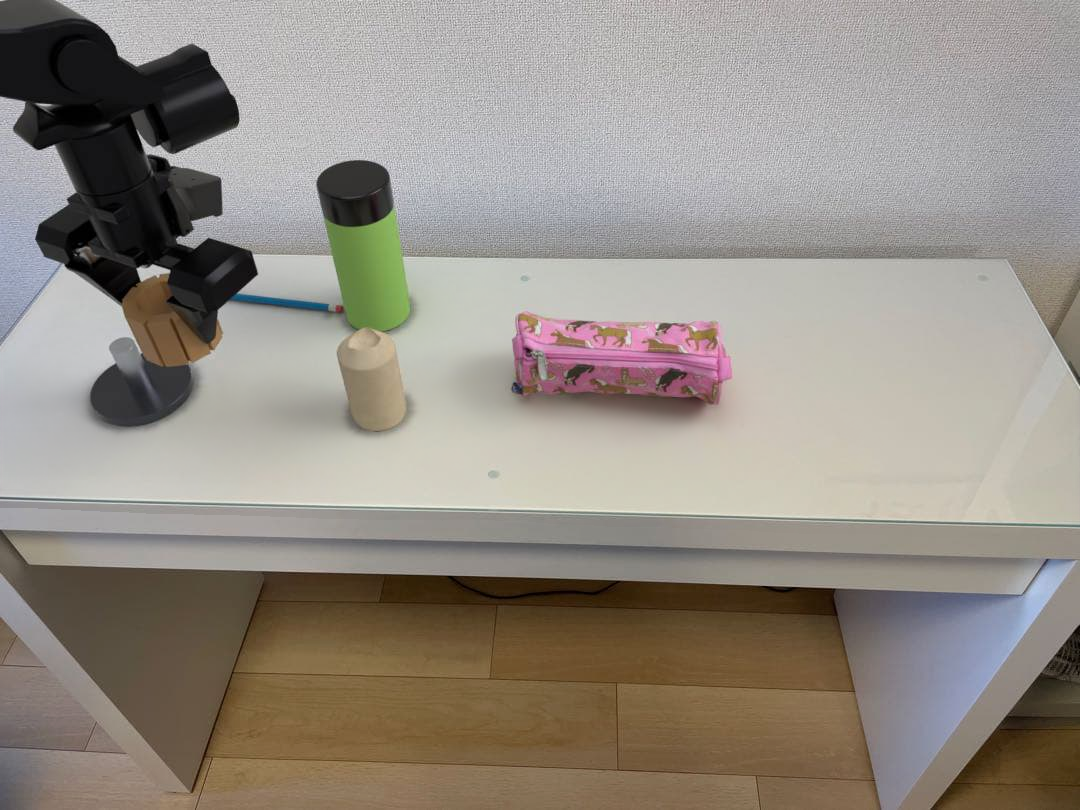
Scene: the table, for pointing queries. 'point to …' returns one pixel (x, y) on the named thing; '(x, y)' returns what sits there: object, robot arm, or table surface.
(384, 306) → the tumbler
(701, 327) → the pencil case
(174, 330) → the wooden segmented ring
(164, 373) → the stand
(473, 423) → the table surface
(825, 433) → the table surface
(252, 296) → the pencil
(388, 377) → the candle
